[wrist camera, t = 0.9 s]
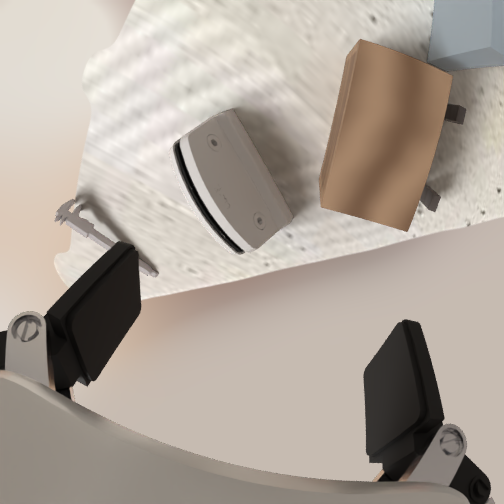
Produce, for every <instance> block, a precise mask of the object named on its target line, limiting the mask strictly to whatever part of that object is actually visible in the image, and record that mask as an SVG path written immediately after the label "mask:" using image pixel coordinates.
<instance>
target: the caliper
mask: <svg viewBox="0 0 504 504" xmlns="http://www.w3.org/2000/svg"><path fill="white" fill-rule="evenodd" d="M74 202H75V200H73V199H72V200H70V201H68V202H66V203H65V204H63V205H62V206H61V207H60V208H59V209H58V210H57V212H56V218H55V222H56V221H59V220H60V219H61V220H60V225H61V224H62V223H63V222H64V221H66V224H67V225H68V226H70V227H71V228H72V229H74V230H75V231H77V232H78V233H80V234H81V235H83V236H84V237H86V238H87V237H89V238H90V239H92V240H93V241H95V242H96V243H98V244H99V245H100V246H102V247H103V248H105V249H106V250H109V249H110V248H111V247H112V246H114V245H115V244H116V243H114V242H113V241H111V240H110V239H108V238H107V237H105V236H104V235H102V234H101V233H99V232H98V231H97V230H95V229H94V228H93V227H94V224H92V223H90V222H89V221H88V220H86V219H83V218H80V217H79V213H80V210H81V207H82V206H81V205H79V206H78V207H77V208H76V209H75V210H74V211H73V213H71V212H69V211H68V210H69V209H70V207H71V206H72V205H73V204H74ZM139 271H140V272H142V273H144V274H145V275H147V276H148V275H151V276H153V277H156V276H157V275H158V273H157V272H156V271H154V270H152V268H151V267H150V266H149V265H148V264H146V263H145V262H144V261H142V260H141V259H139Z"/></svg>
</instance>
